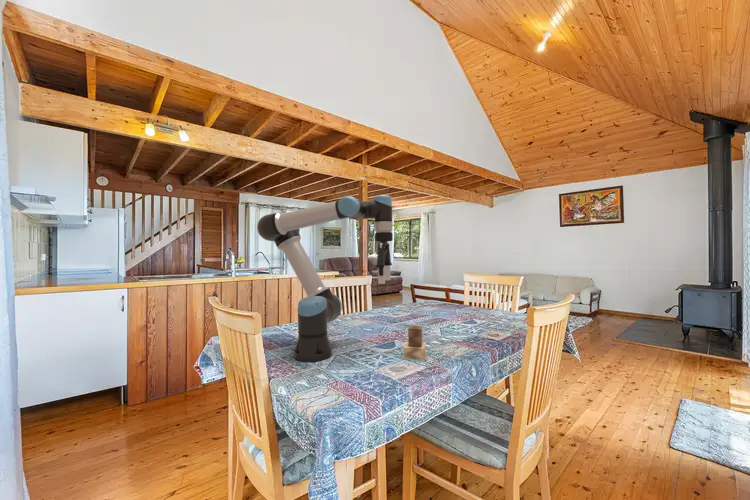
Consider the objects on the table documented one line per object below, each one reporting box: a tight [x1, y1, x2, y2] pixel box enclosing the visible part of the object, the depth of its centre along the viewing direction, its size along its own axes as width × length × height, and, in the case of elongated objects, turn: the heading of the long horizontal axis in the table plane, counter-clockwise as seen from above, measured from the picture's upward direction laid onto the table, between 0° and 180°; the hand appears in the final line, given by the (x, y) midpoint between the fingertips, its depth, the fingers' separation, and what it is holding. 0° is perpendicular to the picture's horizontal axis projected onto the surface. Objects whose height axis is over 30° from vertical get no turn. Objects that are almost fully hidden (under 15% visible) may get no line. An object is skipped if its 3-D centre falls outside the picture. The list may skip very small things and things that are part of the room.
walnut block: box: [407, 325, 423, 347], centre depth 128 cm, size 5×5×7 cm
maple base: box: [403, 341, 427, 360], centre depth 128 cm, size 8×8×4 cm
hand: (384, 281), depth 138 cm, fingers open, 13 cm apart
